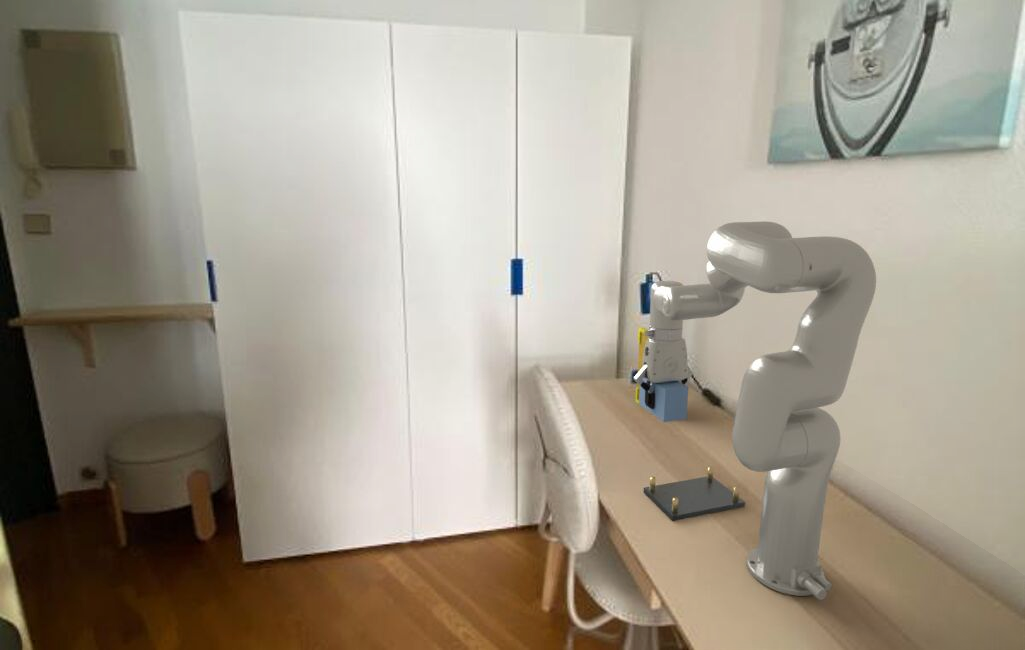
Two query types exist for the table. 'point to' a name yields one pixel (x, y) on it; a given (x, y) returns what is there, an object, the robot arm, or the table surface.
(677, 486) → the dowel plate
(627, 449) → the table surface
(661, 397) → the blue block
